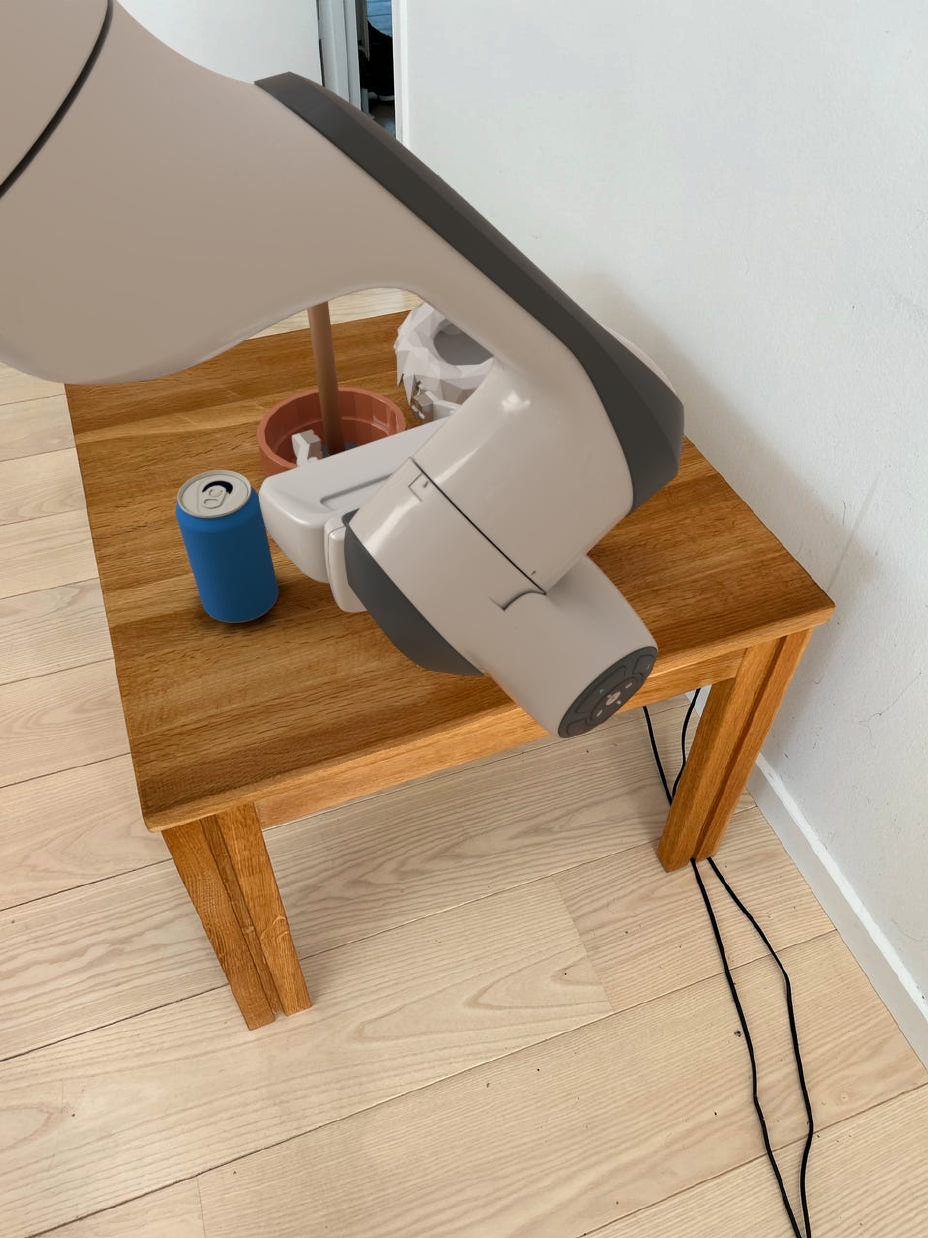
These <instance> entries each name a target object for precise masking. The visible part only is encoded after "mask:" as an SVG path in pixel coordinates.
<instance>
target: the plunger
mask: <svg viewBox="0 0 928 1238" xmlns="http://www.w3.org/2000/svg"><path fill="white" fill-rule="evenodd" d="M306 311H307V319H308V326H309V333H310V340H311V348H312V355H313V360H314V361H313V362H314V369H315V376H316V377H315V378H316V383H317V389H318V391H319V399H320V406H321V413H322V421H323V428H324V435H325V442H326V443H325V444H322V445H321V446H322V448H321V450H320V451H321V452H322V453H323V459H324V458H327V457H330V456H333V455H336V454H339V453H342V452H345V451H347V450H350V449H353V448H356V447H359V445H357V444H354V443H351V442H347V441H345V440H344V432H343V424H342V415H341V407H340V399H339V390H338V387H339V382H338V374H337V367H336V366H337V365H336V358H335V357H336V356H335V350H334V340H333V334H332V333H333V332H332V325H331V324H332V323H331V317H330V307H329V301H327V302H324V303H322V304H319V305H317V306H314V307H312V308H309V309H307V310H306Z"/></svg>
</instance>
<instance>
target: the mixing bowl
mask: <svg viewBox="0 0 928 1238" xmlns="http://www.w3.org/2000/svg"><path fill="white" fill-rule="evenodd" d="M338 390H339V399H340V407H341V415H342V424H343V432H344V440H345V441H347V442H351V443H354V444H357V445H359V446H362V445H365V444H368V443H371V442H374V441H377V440H380V439H383V438H386V437H389V436H392V435H395V434H398V433H401V432H404V431H407V430H408V429H407V422H406V419H405V416H404V413H403V410H402V409H400V408H399V406H397V404H396V403H395V402H394V401H393V400H391V399H389V397H388V398H387V397H386V396H383V395H382V394H380V393H378V392H375V391H371V390H367V389H364V388H359V387H354V386H353V387H351V386H338ZM308 430H313V431H314V434H315V435H317V436H318V437H319V438H320V440H321V445H322V444H325V443H326V442H325V435H324V428H323V421H322V413H321V406H320V399H319V391H318V388H313V389H310V390H305V391H303V392H299V393H296V394H292V395H291V396H289V397H286V398H285V399H284V400H281V401H279V402H278V403H276V404H275V405H273V406H272V407H271V408H270V409H269V410H268V411H267V412H266V413H265V414H264V415H263V416H262V418H261V420H260V423H259V425H258V427H257V430H256V436H257V437H256V438H257V444H258V449H259V454H260V459H261V465H262V468H263V474H264V478H265V479H266V478H268V477H270V476H273V475H276V474H280V473H283V472H286V471H289V470H292V469H295V468H297V457H296V455H295V452H294V449H293V442H292V435H295V434H298V433H301V432H305V431H308ZM265 479H264V480H265Z"/></svg>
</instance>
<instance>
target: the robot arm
mask: <svg viewBox="0 0 928 1238" xmlns="http://www.w3.org/2000/svg"><path fill="white" fill-rule="evenodd" d="M373 289H396V290H402V291H406V292H409V293H411V294H413V295H415V296H417V297H418V299H421V300H422V301H423V302H424V301H425V302H426V303H427V304H428V305H430V306H431V307H432V308H434V309H435V310H436V311H438V312H439V313H440V314H441V315H443V316H444V317H445V318H447V319H448V320H449V321H450V322H452V323H453V324H454V325H456V326H457V327H458V328H460V329H461V330H462V331H463V332H465V333H466V334H467V335H469V336H470V337H471V338H472V339H474V340H475V341H476V342H478V343H479V344H480V345H481V346H483V347H484V348H485V349H487V350H488V351H489V352H491V353H492V354H493V355H494V358H493V362H492V364H491V367H490V369H489V372H488V373H487V375H486V377H485V379H484V380H483V382H482V383H481V384H480V386H479V387H478V388H477V389H476V390H475V391H474V393H473V394H472V395H471V396H470V397H469V398H468V399H467V400H466V401H465V402H464V403H463V404H462V405H461V404H457V403H452V402H448V401H444V400H439V399H438V398H437V397H436V396H435V395H434V394H433V393H432V392H431V391H427V392H424V393H422V394H419V395H417V394H416V395H413V397H412V398H411V404H412V405H411V413H412V416H413V418H414V419H415V420H418V423H419V424H420V425H418V426H415V427H412V428H410V429H407V431H404V432H401V433H398V434H395V435H392V436H389V437H386V438H383V439H380V440H377V441H374V442H371V443H368V444H365V445H362V446H359V447H356V448H353V449H350V450H347V451H345V452H342V453H339V454H336V455H333V456H330V457H327V458H324V459H323V453H322V452H321V451H320V450H321V448H322V446H321V440H320V438H319V437H318V436H317V435H315V434H314V431H313V430H308V431H305V432H301V433H298V434H295V435H292V442H293V449H294V452H295V455H296V457H297V468H295V469H292V470H289V471H286V472H283V473H280V474H276V475H273V476H270V477H268V478H266V479H264V480H263V482H262V483H261V485H260V488H259V491H258V496H259V502H260V507H261V512H262V516H263V520H264V523H265V528H266V531H267V533H268V534H269V535H270V537H271V538H272V539H273V541H274V542H275V543H276V544H277V546H278V547H279V549H280V550H281V551H282V552H283V553H284V554H285V555H286V556H287V558H288V559H289V560H290V561H291V562H292V563H293V564H294V565H295V566H296V567H297V568H298V570H300V571H301V572H302V573H303V574H304V575H306V576H307V577H308V578H310V579H312V580H314V581H316V582H319V583H322V584H329V587H330V589H331V593H332V596H333V598H334V601H335V603H336V605H337V606H338V607H339V609H340V610H341V611H343V612H345V613H351V614H353V613H361V612H362V613H363V612H368V614H369V616H370V617H371V618H372V619H373V621H374V622H375V623H376V625H377V626H378V627H379V628H380V630H381V631H382V633H384V635H385V636H386V638H387V639H388V640H389V641H390V642H391V643H392V644H393V645H394V647H395V648H396V649H397V650H398V651H399V652H400V653H401V654H402V655H403V656H404V657H406V658H407V659H408V660H410V661H411V662H412V663H414V664H415V665H416V666H418V667H420V668H422V669H424V670H426V671H429V672H433V673H442V674H447V675H457V676H467V677H480V676H482V677H483V676H485V674H486V673H487V675H488V676H489V677H490V678H491V679H492V680H493V681H494V683H495V684H496V685H498V687H499V688H500V689H501V690H502V691H504V693H505V694H506V695H507V696H508V697H509V698H510V699H511V700H512V702H514V703H515V704H516V705H517V706H518V707H519V708H520V709H521V710H522V711H523V712H524V713H526V714H527V715H528V716H529V717H530V718H531V719H532V720H534V722H535V723H537V724H538V725H539V726H540V727H541V728H543V729H544V730H545V731H546V732H548V733H549V734H550V735H552V736H554V737H556V738H558V739H570V738H574V737H577V736H578V737H579V736H582V735H585V734H588V733H589V732H590V731H592V730H594V729H595V728H596V727H598V726H600V725H602V724H604V723H605V722H606V721H608V720H609V719H610V718H611V717H612V716H614V715H615V713H617V712H618V711H620V709H622V708H623V707H624V706H625V705H626V703H628V702H629V701H630V700H631V699H632V697H634V696H635V695H636V694H637V693H638V692H639V690H641V689H642V687H643V686H644V685H645V684H646V681H647V679H648V678H649V676H650V675H651V674H652V672H653V670H654V667H655V663H656V662H657V659H658V654H659V647H658V644H657V641H656V640H655V638H654V636H653V635H652V633H651V632H650V630H649V629H648V627H647V626H646V624H645V623H644V621H643V620H642V618H641V617H640V616H639V614H638V613H637V611H636V610H635V609H634V607H633V606H632V605H631V603H630V602H629V601H628V599H627V598H626V597H625V596H624V594H622V592H621V590H619V589H618V587H617V586H616V585H615V584H614V583H613V581H612V580H611V579H610V578H609V577H608V576H607V575H606V573H605V572H604V571H603V570H602V569H601V568H600V567H599V566H598V565H597V563H595V562H594V560H593V559H592V558H591V557H590V556H587V555H586V554H587V553H588V552H589V551H590V550H591V549H592V550H593V548H594V547H595V546H596V545H598V543H599V542H600V541H601V540H602V539H603V538H604V537H605V536H607V534H609V532H610V531H611V530H612V529H613V528H615V527H616V526H617V525H618V524H619V523H620V522H621V521H622V520H623V519H625V518H629V517H630V516H631V515H633V513H635V512H636V511H637V510H638V509H639V508H641V507H642V506H643V505H644V504H646V502H648V501H649V500H650V499H651V498H652V497H654V496H656V495H657V493H658V492H660V491H661V490H662V489H664V488H665V487H666V486H667V485H668V484H670V483H671V482H672V481H673V480H674V479H676V478H677V476H678V474H679V473H678V472H679V470H680V464H681V460H682V454H683V447H684V438H685V437H684V436H685V406H684V404H683V402H682V401H681V399H680V398H679V397H678V395H677V392H676V390H675V388H674V386H673V385H672V383H671V382H670V380H669V379H668V377H667V375H666V374H665V373H664V372H663V371H662V369H661V368H660V367H659V366H658V365H657V364H656V363H655V361H653V359H651V357H650V356H649V355H647V354H646V353H645V352H644V351H643V350H642V349H640V348H639V347H638V346H637V345H636V344H634V343H633V342H631V340H629V339H627V338H626V337H625V336H623V334H621V333H619V332H617V331H615V330H614V329H612V328H610V327H609V326H608V325H606V324H604V323H601V322H600V321H598V320H596V319H595V318H593V317H592V316H591V315H590V314H589V313H588V312H587V311H586V310H584V309H583V308H582V307H581V306H580V305H579V304H578V303H577V302H576V301H575V300H573V298H571V296H569V295H568V294H567V293H566V292H565V291H564V290H563V289H562V288H560V287H559V285H558V284H557V283H556V282H554V280H552V279H551V278H550V277H549V276H548V275H547V273H545V272H544V271H543V270H542V269H540V267H538V266H537V265H536V264H535V263H534V262H533V261H532V260H530V258H529V257H528V256H527V255H525V254H524V253H523V251H521V250H520V249H519V248H518V247H517V246H516V245H515V244H514V243H513V242H512V241H510V240H509V239H508V238H507V237H506V236H505V235H504V234H503V233H502V232H501V231H500V230H499V229H498V228H497V227H496V226H494V224H492V222H490V221H489V219H487V218H486V217H485V216H483V214H482V213H481V212H480V211H478V209H476V208H475V207H474V206H473V205H472V204H471V203H470V202H469V201H468V200H466V199H465V197H464V196H463V195H461V194H460V193H459V192H458V191H457V190H456V189H454V187H453V186H451V185H450V184H449V183H448V182H447V181H445V180H444V178H443V177H442V176H441V175H439V174H437V173H436V172H435V171H433V169H431V168H430V167H429V166H428V165H427V164H425V162H423V161H422V160H421V159H420V158H418V157H417V156H416V155H415V154H414V153H413V152H412V151H411V150H409V149H408V148H407V147H406V146H405V145H404V144H403V143H402V142H400V140H399V139H397V138H396V137H395V136H394V135H392V134H391V133H390V132H389V131H388V130H386V129H385V128H384V127H383V126H382V125H380V124H379V123H378V122H376V121H375V120H374V119H372V118H371V117H370V116H369V115H367V114H366V113H365V112H363V111H362V110H360V108H358V107H356V106H355V105H353V104H352V103H350V102H349V101H347V100H346V99H345V98H343V97H342V96H340V95H339V94H337V93H336V92H334V91H332V90H331V89H329V88H327V87H325V86H323V85H321V84H319V83H318V82H316V81H314V80H311V79H310V78H307V77H304V76H302V75H299V74H298V73H295V72H293V71H286V72H282V73H279V74H275V75H271V76H268V77H265V78H261V79H257V80H254V81H253V83H250V82H246V81H243V80H238V79H235V78H231V77H230V76H226V75H224V74H221V73H218V72H216V71H213V70H211V69H209V68H207V67H205V66H203V65H200V64H198V63H196V62H194V61H193V60H191V59H189V58H187V57H185V56H184V55H182V54H181V53H180V52H177V50H175V49H173V48H171V47H170V46H168V45H167V44H166V43H165V42H163V41H162V40H161V39H159V38H158V37H157V36H156V35H154V34H153V33H152V32H150V30H148V29H147V28H146V27H145V26H143V25H142V24H141V23H140V22H139V21H138V20H137V19H136V18H135V17H133V15H132V14H130V13H129V12H128V10H127V9H126V8H125V7H124V6H123V5H122V4H121V3H120V2H119V0H0V363H1V364H3V365H5V366H7V367H9V368H11V369H14V370H16V371H18V372H20V373H22V374H25V375H27V376H31V377H33V378H36V379H39V380H43V381H46V382H51V383H57V384H66V385H67V384H68V385H76V386H113V385H123V384H124V385H125V384H131V383H139V382H144V381H149V380H154V379H157V378H161V377H165V376H168V375H172V374H175V373H179V372H182V371H185V370H188V369H190V368H192V367H196V366H198V365H200V364H204V363H205V362H207V361H209V360H211V359H214V358H216V357H218V356H220V355H222V354H223V353H225V352H227V351H229V350H231V349H232V348H234V347H237V345H239V344H242V343H243V342H244V341H246V340H248V339H250V338H251V337H253V336H255V335H257V334H259V333H262V332H263V331H265V330H267V329H268V328H271V327H272V326H274V325H276V324H279V323H280V322H282V321H284V320H286V319H288V318H291V317H292V316H295V315H298V314H299V313H303V312H304V311H307V309H309V308H312V307H314V306H317V305H319V304H322V303H324V302H327V301H328V302H330V301H333V300H335V299H338V298H341V297H344V296H347V295H351V294H354V293H358V292H362V291H368V290H373ZM592 550H591V551H592Z"/></svg>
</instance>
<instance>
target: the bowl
mask: <svg viewBox="0 0 928 1238" xmlns="http://www.w3.org/2000/svg"><path fill="white" fill-rule="evenodd" d="M396 330H397V334H398V336H397V337H396V340H395V341H394V344H393V349H394V353H395V355H396V375H397V376H396V377H397V378H396V380H397V382H396V383H397V388H399V387H400V386H401V385H402V384H403V386H404V390H405V393H406V398H407V403H408V407H409V408H410V406H411V404H412V402H411V398H412V397H413V396H414V394H415V392H416V393H417V394H416V395H419V394H422V393H424V392H427V391H431V392H432V393H433V394H434V395H435V396H436V397H437V398H438V399H439V400H444V401H448V402H452V403H457V404H461V405H462V404H463V403H464V402H465V401H466V400H467V399H468V398H469V397H470V396H471V395H472V394H473V393H474V391H475V390H476V389H477V388H478V387H479V386H480V384H481V383H482V382H483V380H484V379H485V377H486V375H487V373H488V372H489V369H490V367H491V364H492V362H493V358H494V355H493V354H492V353H491V352H489V351H488V350H487V349H485V348H484V347H483V346H481V345H480V344H479V343H478V342H476V341H475V340H474V339H472V338H471V337H470V336H469V335H467V334H466V333H465V332H463V331H462V330H461V329H460V328H458V327H457V326H456V325H454V324H453V323H452V322H450V321H449V320H448V319H447V318H445V317H444V316H443V315H441V314H440V313H439V312H438V311H436V310H435V309H434V308H432V307H431V306H430V305H428V304H427V303H426V302H425V301H423V302H421V303H420V304H418V305H417V306H415V307H414V308H412V309H411V310H410V312H409V313H408V315H407V317H406V318H405V320H404V321H403V323H402V324H401V325H400V326H399V327H398V328H397V329H396Z"/></svg>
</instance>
